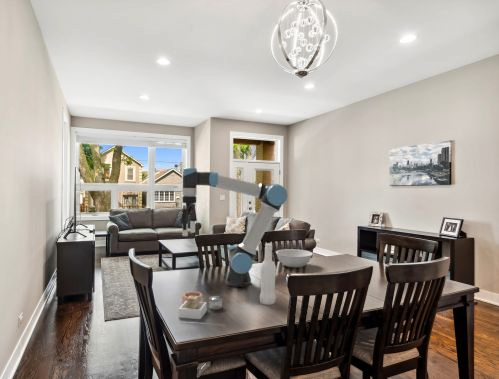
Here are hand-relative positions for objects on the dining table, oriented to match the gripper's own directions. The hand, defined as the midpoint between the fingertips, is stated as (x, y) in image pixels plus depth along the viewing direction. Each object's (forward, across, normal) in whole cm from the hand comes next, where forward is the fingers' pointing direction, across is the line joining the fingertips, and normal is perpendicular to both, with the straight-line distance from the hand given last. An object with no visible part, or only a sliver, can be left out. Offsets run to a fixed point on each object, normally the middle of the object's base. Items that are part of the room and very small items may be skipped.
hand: (188, 234), depth 187 cm
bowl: (+32, -71, +58) cm, 97 cm away
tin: (+32, +23, +21) cm, 44 cm away
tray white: (+32, +33, +13) cm, 48 cm away
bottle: (+32, +10, +45) cm, 56 cm away
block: (+31, +33, +13) cm, 47 cm away
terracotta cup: (+32, +21, +9) cm, 39 cm away
